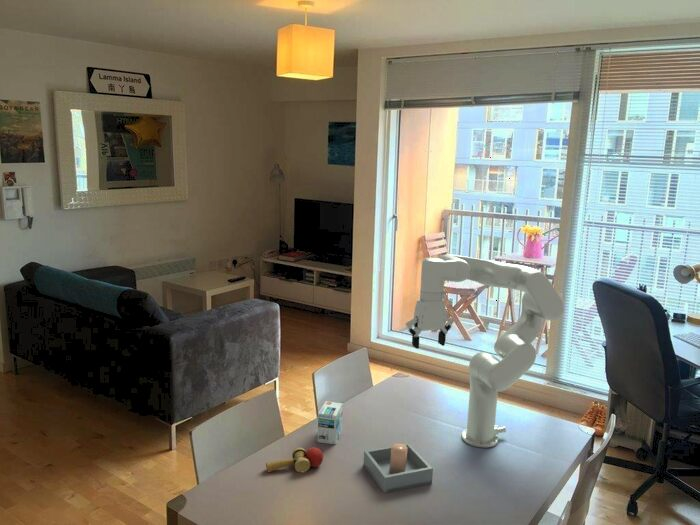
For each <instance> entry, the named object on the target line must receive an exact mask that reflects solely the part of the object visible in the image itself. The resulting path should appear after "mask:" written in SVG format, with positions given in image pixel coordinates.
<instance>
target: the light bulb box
mask: <svg viewBox="0 0 700 525" xmlns="http://www.w3.org/2000/svg"><path fill="white" fill-rule="evenodd" d="M343 407H344V403H342V402H341V403H340V402H332V401H327V400H326V401H324V403H323V404H322V405H321V408H320V409H319V411H318V414H317V417H318V418H317V442H318V443H322V444H329V445H336V444H337V443H338V441H339V438H340V436H341V434H342V432H343V413H344V412H343V409H344V408H343Z"/></svg>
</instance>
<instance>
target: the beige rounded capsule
mask: <svg viewBox="0 0 700 525" xmlns="http://www.w3.org/2000/svg"><path fill="white" fill-rule="evenodd" d="M404 444H405V443H399V442H397V443H393V444H392V445H391V457H390V469H389V471H390V472H391V473H392V474H396V473H401V472H405V470H406V460H407V450H408V448H407V446H406V445H404Z"/></svg>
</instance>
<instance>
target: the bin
mask: <svg viewBox="0 0 700 525" xmlns="http://www.w3.org/2000/svg"><path fill="white" fill-rule="evenodd" d="M403 444H404V445H406V446H407V448H408V450H407V460H406V470H405V472H401V473H396V474H392V473H391V472H390V471H389V469H390V457H391V446H392V445H391V446H385V447H380V448H374V449H367V450H364V451H363V466H364V468H365V469H366V471H367V472H368V473H369V475H370V476H371V477H372V479H373V480H374V482H376V484H377V485H378V487H379V488H380V490H382V492H383V493H384V494H387V493H392V492H396V491H401V490H407V489H411V488H415V487H422V486H426V485H431V484H433V476H434V468H433V466H432V465H431V464H429V462H427V461H426V459H424V457H423V455H421V454H420V453H419V452H418V451H417V450H416V449H415V448H414V447H413V445H411V444H410V443H403Z"/></svg>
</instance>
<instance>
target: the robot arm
mask: <svg viewBox="0 0 700 525" xmlns="http://www.w3.org/2000/svg"><path fill="white" fill-rule="evenodd" d="M420 272H421V273H420V289H419V291H420V294H419V298H417V300H416V303H415V308H414V312H413V318H412V319H410V320H409V321H407V322H406V323H405V326H406V328H407V331H408V332H409V333H410V335H411V336H412V337H411V345H412V346H413V348H415V349H417V350H418V349H419V348H420V337H419V336H420V335H421V332H425V331H427V332H428V331H437V330H438V335H437V336H438V338H437V343H438V344H439V345H441V346H442V347H443V346H446V345H445V344H446V340H447V339H446V337H447V334H448V331H450V330H451V328H452V325H453V323H454V319H452V318H450V317H449V316H447V311H446V310H447V308H446V301H445V299H444V297H445V296H447V291H444V290H445V281H446V282H454V283H461V282H464V281H466V280H470V281H473V282H476V283H479V284H481V285H484V286H487V287H492V288H493V287H494V288H502V289H508V290H515V291H516V290H517V291H520V292H523V293H524V294H523V295H522V297H521V298H522V299H521V312H520V316H519V318H518V319H517V321H516V322H515V323H514V324H513V325H512V326H511V327H510V328H508V329H507V330H506V331H505V332H504V333H503V334H501V335H500V337H499V338H497V339H496V341H495V342H494V346H493V349H494V353H495V354H496V355H497V356H498V357H500V359H501V360H500V359H499V358H497V357H495V356H494V355H492V354H490V353H488V352H483V351H482V352H477V353H476V354H474V355H473V356H472V357H471V359H470V360H469V366H468V373H469V397H468V408H467V420H466V421H467V423H466V429H464V430H463V431H462V432H461V439H462V440H463V441H464V443H466V444H468V445H470V446H472V447H476V448H477V447H478V448H492V447H495V446H496V445H497V444H498V443H499V437H498V435H499V434H502V433H506V432H507V431H506V430H507V429H506V427H505V426H500V427H499V425H497V424H496V418H497V417H496V416H497V403H498V393H499V392H504V391H505V390H508V389H509V388H510V387H512V386H513V384H515V383H516V382H517V381H518V380H519V379H520V378H521V377H523V375H525V374H526V373H527V372H528V371H529V370H530V369H531V368H532V366H533V365H534V364H535V362H536V358H537V350H536V347H534V345H533V344H532V343H533V342H534V341H535V340H536V339H537V337H538V336H539V335H540V333H541V331H542V327H543V320H545V321H556V320H558V319H560V318H561V317H562V315H563V313H564V308H565V307H564V302H563V300H562V298H561V296H560V295H559V293H558V292H557V290H556V289H555V287H554V286H553V284H552V282H551V281H550V280H549V278H548V277H547V275H545V274H544V272H543V271H540V270H539V269H535V268H533V267H530V266H526V265H521V264H517V263H509V262H508V263H506V262H503V261H502V262H500V261H495V260H489V259H482V258H475V257H470V256H464V255H463V256H462V255H457V254H448V253H447V254H443V255H440V256H439V257H425V258H423V260H422V261H421V271H420ZM413 327H414V328H413Z"/></svg>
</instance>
